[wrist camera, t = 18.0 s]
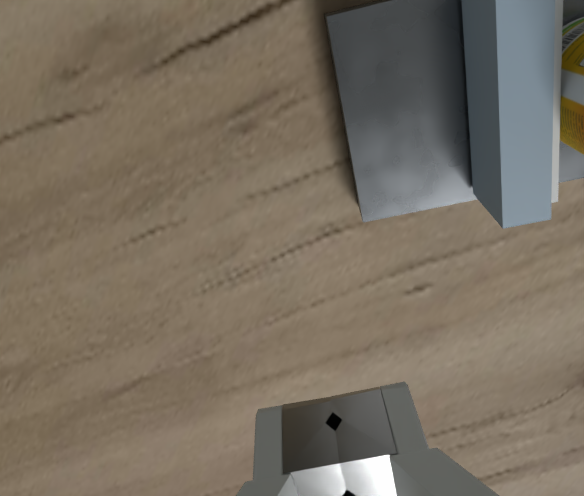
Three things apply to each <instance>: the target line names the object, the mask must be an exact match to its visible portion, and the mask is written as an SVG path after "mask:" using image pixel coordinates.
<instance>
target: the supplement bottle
mask: <svg viewBox="0 0 584 496" xmlns="http://www.w3.org/2000/svg"><path fill="white" fill-rule="evenodd" d="M560 141H562V142H563V143H565V144H567V145H568V146H570V147H572V148H573V149H575V150H577V151H578V152H580V153H582V154H583V155H584V17H582V18H579V19H577V20H574V21H572V22H570V23H568V24H566V25H565V26H563V27H562V64H561V103H560Z"/></svg>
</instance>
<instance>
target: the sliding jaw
mask: <svg viewBox="0 0 584 496" xmlns="http://www.w3.org/2000/svg"><path fill="white" fill-rule="evenodd" d="M461 1H462V17H463V33H464V50H465V66H466V83H467V99H468V116H469V132H470V149H471V165H472V182H473V194H474V195H475V196H476V197H477V199H478V200H479V201H480V202H481V203H482V205H483V206H484V207H485V208H486V209H487V210H488V212H489V213H490V214H491V215H492V216H493V218H494V219H495V220H496V221H497V222H498V223H499V225H500V226H501V227H502V228H509V227H514V226H519V225H524V224H529V223H534V222H539V221H544V220H550V219H551V203H553V202H558V180H559V142H560V103H561V64H562V25H563V0H461Z"/></svg>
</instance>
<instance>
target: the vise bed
mask: <svg viewBox="0 0 584 496" xmlns="http://www.w3.org/2000/svg"><path fill="white" fill-rule="evenodd" d="M324 17H325V22H326V28H327V33H328V39H329V44H330V50H331V56H332V61H333V67H334V72H335V78H336V83H337V89H338V95H339V100H340V106H341V111H342V117H343V122H344V128H345V134H346V139H347V145H348V150H349V156H350V161H351V167H352V173H353V178H354V184H355V189H356V195H357V200H358V206H359V210H360V213H361V217H362V220H363V222H367V221H372V220H377V219H382V218H387V217H392V216H397V215H402V214H407V213H412V212H417V211H422V210H427V209H432V208H437V207H442V206H446V205H451V204H456V203H461V202H466V201H471V200H476V199H477V197H476V196H475V195H474V194H473V182H472V165H471V149H470V132H469V116H468V99H467V83H466V66H465V50H464V33H463V17H462V1H461V0H378V1H374V2H370V3H366V4H362V5H358V6H354V7H350V8H346V9H342V10H338V11H334V12H330V13H326V14H324ZM582 17H584V0H563V25H562V27H563V26H565V25H566V24H568V23H570V22H572V21H574V20H577V19H579V18H582ZM580 178H584V155H583V154H582V153H580V152H578V151H577V150H575V149H573V148H572V147H570V146H568V145H567V144H565V143H563V142H562V141H560V142H559V180H558V183H560V182H565V181H570V180H575V179H580Z"/></svg>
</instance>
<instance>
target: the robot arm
mask: <svg viewBox="0 0 584 496" xmlns="http://www.w3.org/2000/svg"><path fill="white" fill-rule="evenodd" d="M236 496H499V495H498V494H496V493H495V492H494V491H493V490H491V489H490V488H489V487H487V486H486V485H485V484H484V483H482V482H481V481H480V480H478V479H477V478H476V477H474V476H473V475H472V474H471V473H469V472H468V471H467V470H465V469H464V468H463V467H462V466H460V465H459V464H458V463H456V462H455V461H454V460H452V459H451V458H450V457H449V456H447V455H446V454H445V453H443V452H442V451H441V450H439V449H438V448H432V449H429V447H428V444H427V441H426V438H425V435H424V432H423V429H422V426H421V423H420V420H419V417H418V414H417V411H416V408H415V405H414V402H413V399H412V397H411V394H410V391H409V388H408V385H407V384H406V383H405V382H400V383H395V384H390V385H385V386H380V387H375V388H370V389H365V390H360V391H355V392H350V393H345V394H340V395H335V396H331V397H326V398H320V399H314V400H308V401H302V402H296V403H290V404H284V405H281V406H275V407H269V408H262V409H258V411H257V414H256V424H255V445H254V466H253V480H252V481H247V482H245V483H244V485H243V486H242V487H241V489H240V490H239V492H238V493H237V495H236Z"/></svg>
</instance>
